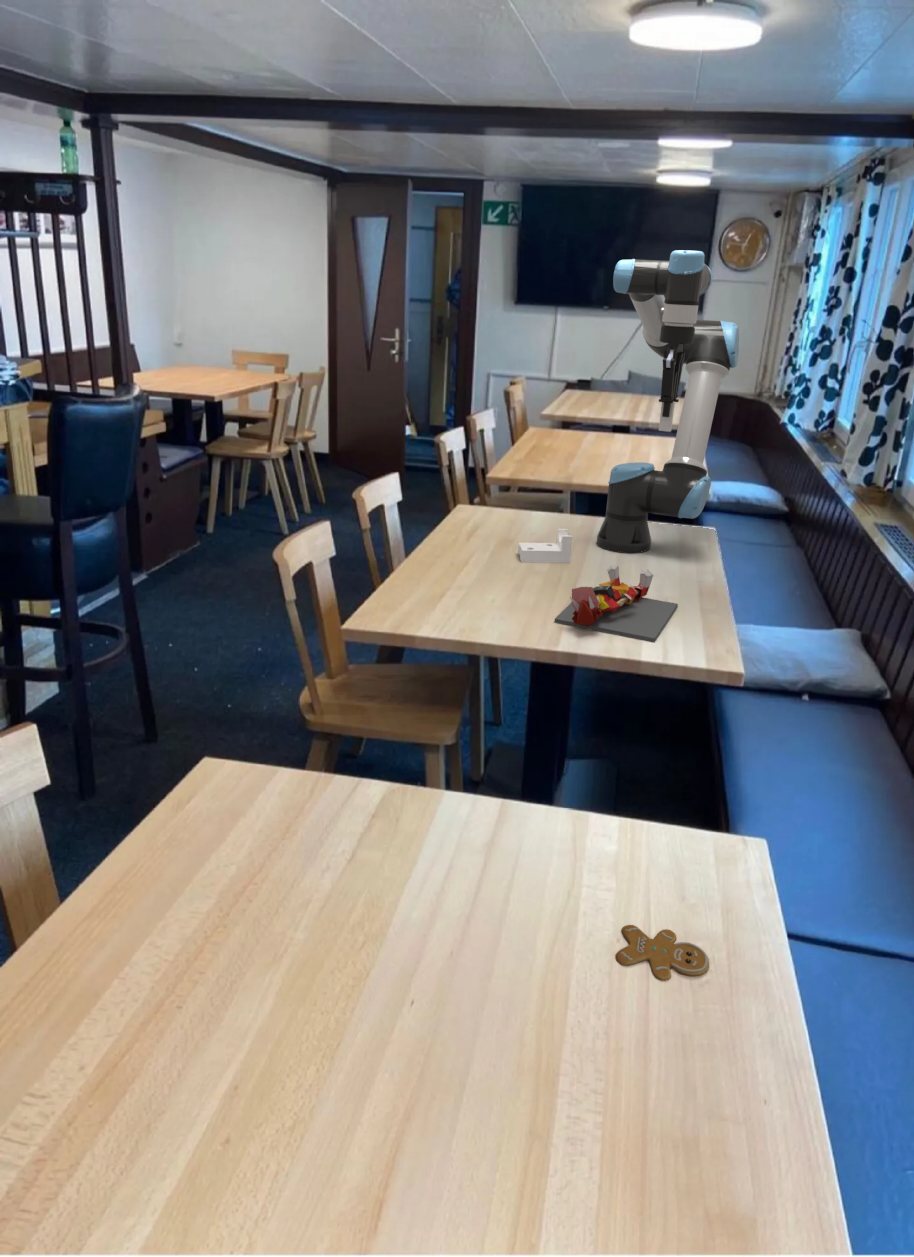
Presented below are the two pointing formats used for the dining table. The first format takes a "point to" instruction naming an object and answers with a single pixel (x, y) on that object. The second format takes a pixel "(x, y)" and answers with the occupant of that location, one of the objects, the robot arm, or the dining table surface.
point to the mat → (629, 619)
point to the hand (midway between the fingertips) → (664, 430)
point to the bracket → (548, 550)
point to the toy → (607, 596)
